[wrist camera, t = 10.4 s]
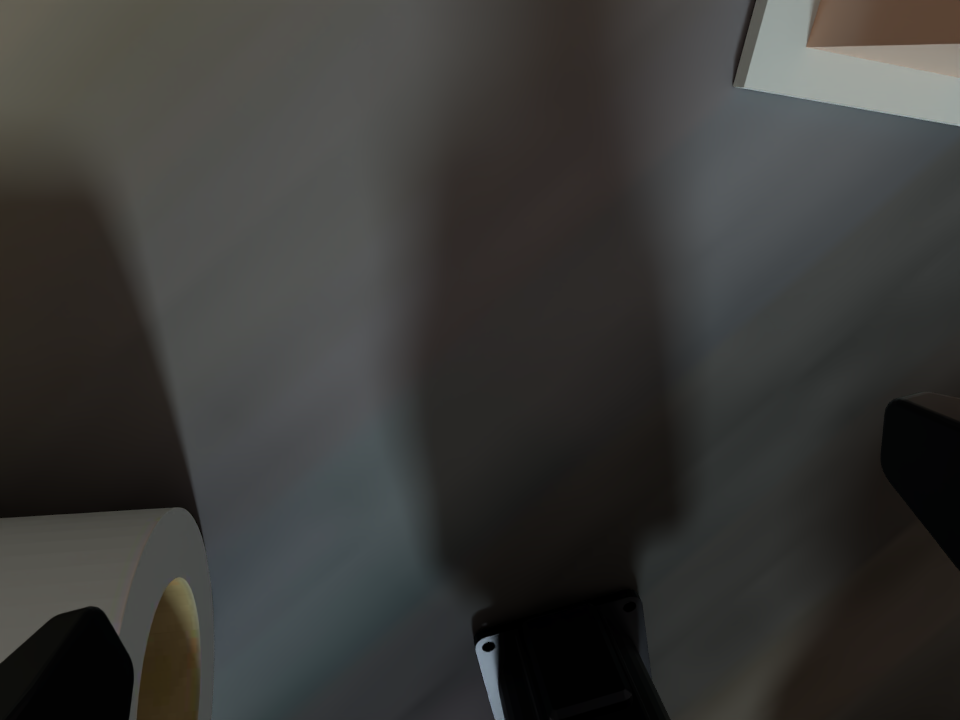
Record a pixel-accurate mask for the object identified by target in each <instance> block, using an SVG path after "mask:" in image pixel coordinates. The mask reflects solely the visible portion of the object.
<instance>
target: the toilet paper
mask: <svg viewBox="0 0 960 720" xmlns="http://www.w3.org/2000/svg"><path fill="white" fill-rule="evenodd" d="M88 606H95V607H98V608H100V609H101V610H103V611H104V613H105V614H106V615H107V617H108V619H109V620H110V622H111V624H112V626H113V627H114V629H115V631H116V633H117V634H118V636H119V638H120V640H121V641H122V643H123V645H124V646H125V648H126V650H127V652H128V653H129V655H130V657H131V660H132V663H133V668H134V686H133V694H132V702H131V709H130V717H129V720H211V715H212V701H213V682H214V616H213V600H212V589H211V582H210V575H209V568H208V561H207V555H206V551H205V547H204V543H203V539H202V536H201V533H200V530H199V528H198V526H197V524H196V522H195V520H194V518H193V517H192V515H191V514H190V513H189V512H188V511H187V510H186V509H183V508H180V507H173V508H157V509H141V510H125V511H109V512H93V513H77V514H61V515H45V516H29V517H13V518H0V663H1V662H2V661H4V660H5V659H6V658H7V657H8V656H9V655H10V654H11V653H13V652H14V651H15V650H16V649H17V648H18V647H19V646H20V645H21V644H23V643H24V642H25V641H26V640H27V639H28V638H29V637H30V636H32V635H33V634H34V633H35V632H36V631H37V630H38V629H39V628H41V627H42V626H43V625H44V624H45V623H46V622H47V621H48V620H50V619H51V618H52V617H54V616H56V615H58V614H61V613H65V612H69V611H72V610H76V609H80V608H84V607H88Z"/></svg>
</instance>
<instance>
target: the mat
mask: <svg viewBox="0 0 960 720" xmlns="http://www.w3.org/2000/svg"><path fill="white" fill-rule="evenodd" d="M819 3H820V0H756V3H755V7H754V10H753V14H752V18H751V21H750V25H749V29H748V32H747V36H746V40H745V43H744V47H743V51H742V55H741V58H740V62H739V66H738V69H737V73H736V77H735V80H734V84H733V87H738V88H744V89H749V90H755V91H761V92H767V93H772V94H778V95H784V96H790V97H795V98H801V99H807V100H812V101H818V102H824V103H830V104H835V105H841V106H847V107H852V108H858V109H864V110H870V111H875V112H881V113H887V114H893V115H898V116H904V117H910V118H915V119H921V120H927V121H933V122H938V123H944V124H950V125H956V126H960V78H957V77H952V76H947V75H942V74H937V73H932V72H927V71H922V70H917V69H912V68H907V67H902V66H897V65H892V64H887V63H882V62H877V61H872V60H867V59H862V58H857V57H852V56H847V55H842V54H837V53H832V52H827V51H822V50H817V49H812V48H807V47H806V45H807V42H808V39H809V36H810V32H811V29H812V26H813V23H814V19H815V16H816V13H817V10H818V6H819Z"/></svg>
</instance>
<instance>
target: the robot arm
mask: <svg viewBox="0 0 960 720" xmlns="http://www.w3.org/2000/svg"><path fill="white" fill-rule="evenodd" d="M881 465H882V469H883V472H884V474H885V476H886V477H887V479H888V480H889V482H890V483H891V484H892V486H893V487H894V488H895V490H896V491H897V492H898V493H899V495H900V496H901V497H902V498H903V500H904V501H905V502H906V504H907V505H908V506H909V507H910V509H911V510H912V511H913V512H914V514H915V515H916V516H917V517H918V519H919V520H920V521H921V523H922V524H923V525H924V526H925V528H926V529H927V530H928V531H929V533H930V534H931V535H932V537H933V538H934V539H935V540H936V542H937V543H938V544H939V545H940V547H941V548H942V549H943V551H944V552H945V553H946V554H947V556H948V557H949V558H950V559H951V561H952V562H953V563H954V565H955V566H956V567H957V568H958V570H959V571H960V398H956V397H951V396H946V395H942V394H937V393H932V392H920V393H915V394H912V395H908V396H904V397H900V398H896V399H894V400H892V401H891V402H889V404H888V405H887V407H886V409H885V415H884V425H883V436H882V446H881ZM628 602H630V603H628ZM626 603H628V604H626ZM486 642H490V643H488V644H484V643H486ZM474 645H475V650H476V653H477V657H478V661H479V664H480V668H481V671H482V675H483V679H484V682H485V686H486V689H487V693H488V697H489V700H490V704H491V707H492V711H493V714H494V718H495V720H671V719H670V717H669V715H668V713H667V711H666V709H665V707H664V705H663V703H662V701H661V698H660V696H659V694H658V692H657V690H656V688H655V686H654V684H653V682H652V677H651V669H650V661H649V653H648V645H647V637H646V630H645V622H644V614H643V606H642V602H641V599H640V598H639V596H638V594H637V592H636V591H634V590H631V589H626V590H622V591H618V592H615V593H611V594H608V595H604V596H600V597H597V598H593V599H590V600H586V601H583V602H579V603H575V604H572V605H568V606H565V607H561V608H558V609H554V610H551V611H547V612H543V613H540V614H536V615H533V616H529V617H526V618H522V619H519V620H515V621H511V622H508V623H504V624H501V625H497V626H494V627H490V628H486V629H483V630H481V631H479V632H478V633H477V634H476V635H475V637H474ZM133 686H134V668H133V663H132V660H131V657H130V655H129V653H128V652H127V650H126V648H125V646H124V645H123V643H122V641H121V640H120V638H119V636H118V634H117V633H116V631H115V629H114V627H113V626H112V624H111V622H110V620H109V619H108V617H107V615H106V614H105V613H104V611H103V610H101V609H100V608H98V607H95V606H88V607H84V608H80V609H76V610H72V611H69V612H65V613H61V614H58V615H56V616H54V617H52V618H51V619H50V620H48V621H47V622H46V623H45V624H44V625H43V626H42V627H41V628H39V629H38V630H37V631H36V632H35V633H34V634H33V635H32V636H30V637H29V638H28V639H27V640H26V641H25V642H24V643H23V644H21V645H20V646H19V647H18V648H17V649H16V650H15V651H14V652H13V653H11V654H10V655H9V656H8V657H7V658H6V659H5V660H4V661H2V662H1V663H0V720H129V717H130V709H131V702H132V694H133Z"/></svg>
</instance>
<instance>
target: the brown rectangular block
mask: <svg viewBox="0 0 960 720" xmlns="http://www.w3.org/2000/svg"><path fill="white" fill-rule="evenodd" d="M806 47H807V48H812V49H817V50H822V51H827V52H832V53H837V54H842V55H847V56H852V57H857V58H862V59H867V60H872V61H877V62H882V63H887V64H892V65H897V66H902V67H907V68H912V69H917V70H922V71H927V72H932V73H937V74H942V75H947V76H952V77H957V78H960V0H820V3H819V6H818V10H817V13H816V16H815V19H814V23H813V26H812V29H811V32H810V36H809V39H808V42H807V45H806Z"/></svg>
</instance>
